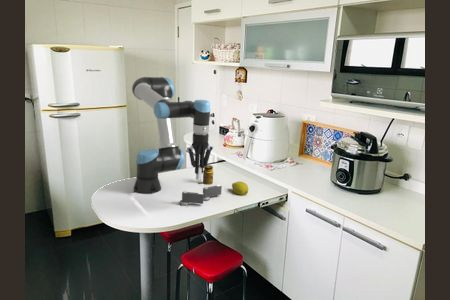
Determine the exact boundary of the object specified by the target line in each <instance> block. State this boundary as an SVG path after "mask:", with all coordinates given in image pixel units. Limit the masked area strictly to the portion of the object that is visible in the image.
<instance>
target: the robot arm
mask: <svg viewBox="0 0 450 300" xmlns="http://www.w3.org/2000/svg"><path fill="white" fill-rule="evenodd" d="M131 92H132V95H134V97H135V98H136V99H138V100H140V101H143V102H144V103H146V105H148V106H149V107H150V108H152V110H153V114H154V116H155V118H156V123H157V130H158V135H159V143H160V145H159V147H157V149H156V148H147V149H143V150H140V151H138V153H137V154H136V160H135V162H136V178H135V182H134V184H133V185H134V186H133V193H137V194H142V195H151V194H155V193H156V194H157V193H158V192H161V190H162V185H161V182H160V179H159V173H162V172H170V171H175V170H180V169H181V168H182V167H183V165H184V164H185V155H184V154H185V153H184V151H183V150H182V149H181V148H180V147H179V146H180V145H178V144H177V143H176V138H175V131H174V130H175V129H174V123H173V119H177V118H178V119H181V118H191V119H193V123H192V132H193V133H192V143H191V146H189V147H187V148H186V149H187V151H188V154H189V160H190V165H191V166H192V167H193V168H194V174H195V179H196V180H197V181H202V174H203V171H204V166H207V165H209V160H210V155H211V151H212V150H213V149H214V147H213V146H211V145H210V144H209V132H210V116H211V115H210V114H211V102H210V101H209V100H207V99H195V100H194V101H192V100H184V101H172V100H173V99H172V98H173V97H174V96H175V85H174V83H173V81H172V80H171V78H168V77H163V76H160V77H157V76H156V77H154V76H153V77H152V76H151V77H150V76H149V77H148V76H144V77H139V78H137V79H136V80H135V81H134V82H133V84H132V87H131Z"/></svg>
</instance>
